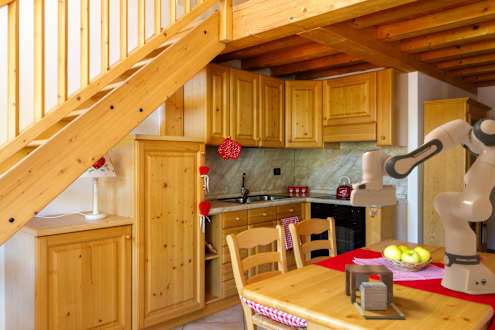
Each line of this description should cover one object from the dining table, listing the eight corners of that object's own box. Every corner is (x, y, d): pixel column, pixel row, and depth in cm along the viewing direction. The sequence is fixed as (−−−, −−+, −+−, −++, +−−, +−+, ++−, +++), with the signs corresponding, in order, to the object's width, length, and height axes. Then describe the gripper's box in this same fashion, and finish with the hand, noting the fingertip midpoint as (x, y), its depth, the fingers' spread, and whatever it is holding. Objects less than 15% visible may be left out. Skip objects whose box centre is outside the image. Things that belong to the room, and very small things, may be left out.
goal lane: (392, 304, 138) (392, 303, 138) (404, 317, 127) (404, 315, 127) (353, 304, 138) (353, 302, 138) (362, 316, 127) (362, 315, 127)
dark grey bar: (403, 317, 126) (403, 316, 126) (405, 319, 125) (405, 318, 125) (364, 317, 127) (364, 315, 127) (365, 319, 125) (365, 317, 125)
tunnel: (383, 294, 149) (383, 264, 148) (393, 303, 139) (393, 272, 138) (345, 293, 149) (345, 264, 149) (351, 303, 139) (351, 272, 139)
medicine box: (382, 305, 137) (382, 281, 137) (387, 310, 132) (387, 286, 132) (360, 305, 137) (360, 281, 137) (364, 310, 132) (364, 285, 132)
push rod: (370, 288, 155) (370, 270, 155) (385, 304, 137) (385, 285, 137) (350, 287, 155) (350, 270, 155) (362, 304, 137) (363, 285, 137)
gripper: (393, 183, 175) (393, 213, 175) (348, 185, 175) (349, 215, 175) (398, 184, 169) (399, 215, 169) (352, 186, 169) (353, 217, 169)
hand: (373, 215), depth 172 cm, fingers closed
